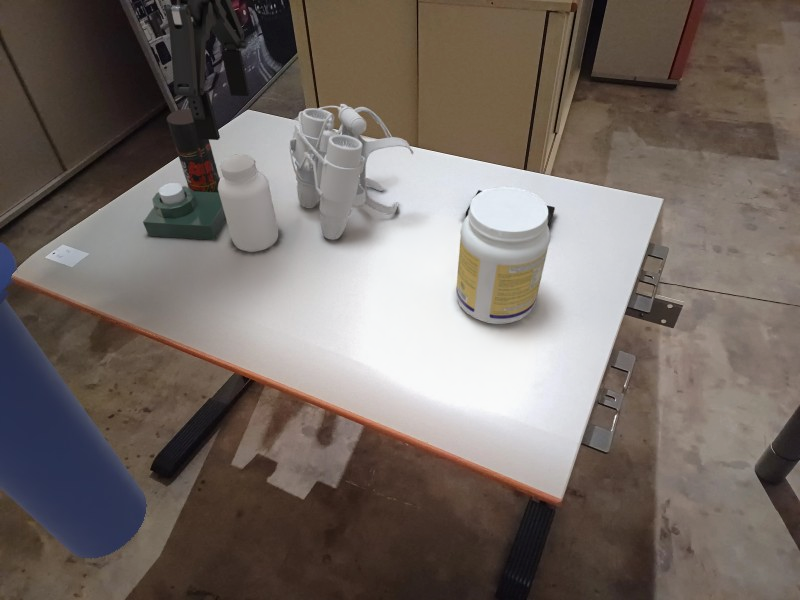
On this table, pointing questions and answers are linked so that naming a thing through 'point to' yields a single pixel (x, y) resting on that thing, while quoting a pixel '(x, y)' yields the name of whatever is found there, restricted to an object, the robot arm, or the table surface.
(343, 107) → the rocket backpack
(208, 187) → the deodorant
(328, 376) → the table surface
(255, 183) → the pill bottle
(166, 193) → the white button cap
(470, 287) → the supplement tub
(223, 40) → the robot arm
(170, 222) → the button base
